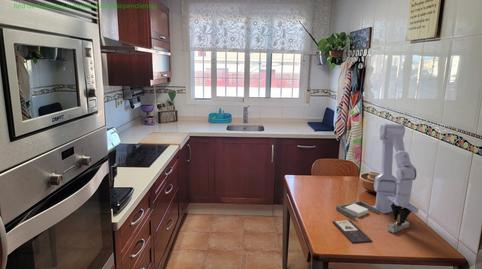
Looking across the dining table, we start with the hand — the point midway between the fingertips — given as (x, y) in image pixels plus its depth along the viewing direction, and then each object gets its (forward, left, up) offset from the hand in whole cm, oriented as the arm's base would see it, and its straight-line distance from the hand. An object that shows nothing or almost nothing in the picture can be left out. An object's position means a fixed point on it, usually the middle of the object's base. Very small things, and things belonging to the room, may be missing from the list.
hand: (399, 221), depth 147 cm
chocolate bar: (+22, -7, -4) cm, 23 cm away
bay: (+4, -20, -3) cm, 21 cm away
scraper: (0, 0, -3) cm, 3 cm away
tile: (+5, -20, -4) cm, 21 cm away
